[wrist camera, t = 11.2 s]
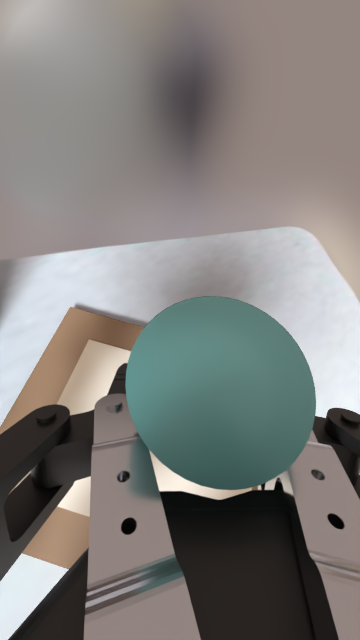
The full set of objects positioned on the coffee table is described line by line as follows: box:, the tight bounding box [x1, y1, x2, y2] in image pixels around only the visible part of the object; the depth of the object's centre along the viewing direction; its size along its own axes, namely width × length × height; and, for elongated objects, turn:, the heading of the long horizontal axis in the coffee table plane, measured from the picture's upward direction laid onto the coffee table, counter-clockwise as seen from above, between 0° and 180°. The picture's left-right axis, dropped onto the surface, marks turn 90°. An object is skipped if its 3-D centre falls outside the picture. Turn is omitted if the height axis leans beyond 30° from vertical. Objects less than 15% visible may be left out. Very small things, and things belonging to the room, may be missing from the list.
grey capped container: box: [125, 296, 316, 490], centre depth 11 cm, size 4×4×12 cm
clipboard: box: [0, 307, 258, 569], centre depth 17 cm, size 22×16×2 cm
